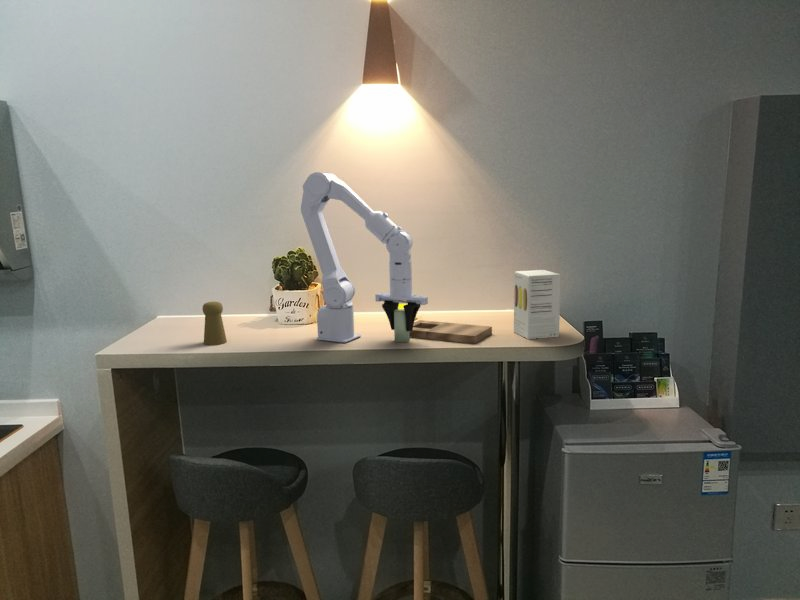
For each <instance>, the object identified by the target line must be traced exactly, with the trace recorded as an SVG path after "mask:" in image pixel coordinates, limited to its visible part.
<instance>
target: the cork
mask: <svg viewBox="0 0 800 600" xmlns="http://www.w3.org/2000/svg"><path fill="white" fill-rule="evenodd" d="M223 311H224V308H223V304H222V303H221V302H220V301H208V302H205V303H204V304H203V305H202V314H203V315H204V332H203V345H205V346H219V345H224V344H226V343H227V336H226V332H225V331H226V330H225V326H224V322H223V317H222V314H223Z"/></svg>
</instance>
